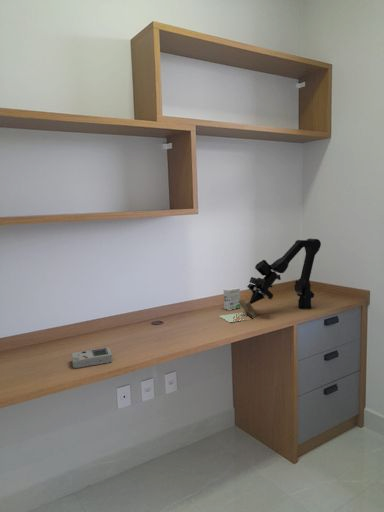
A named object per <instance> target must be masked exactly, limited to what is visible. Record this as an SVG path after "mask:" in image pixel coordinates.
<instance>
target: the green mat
mask: <svg viewBox="0 0 384 512" xmlns="http://www.w3.org/2000/svg"><path fill="white" fill-rule="evenodd" d="M238 313H239V314H238ZM243 313H244V312H236V313H229V314H223V315H218V317H219V318H221V319H222V318H223V320H224V319H225V322H227V321H228V322H227V323H229V322H233V320H234V319H236V314H237V317H238V316H239V317H240V318H241V317H243V316H244V318H245V316H246V317H247V314H246V313H244V314H243ZM234 316H235V318H234V319H233V317H234ZM240 320H241V319H240ZM240 320H239V321H240ZM243 320H244V319H243ZM234 321H235V320H234Z"/></svg>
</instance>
